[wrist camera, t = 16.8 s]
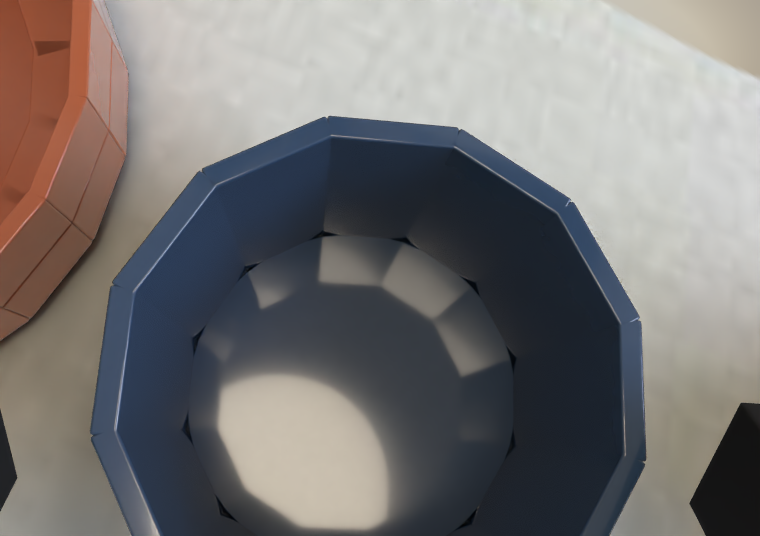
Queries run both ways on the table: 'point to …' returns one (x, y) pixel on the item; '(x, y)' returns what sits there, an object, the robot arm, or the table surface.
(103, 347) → the blue faceted pot
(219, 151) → the table surface
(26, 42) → the lower bowl
